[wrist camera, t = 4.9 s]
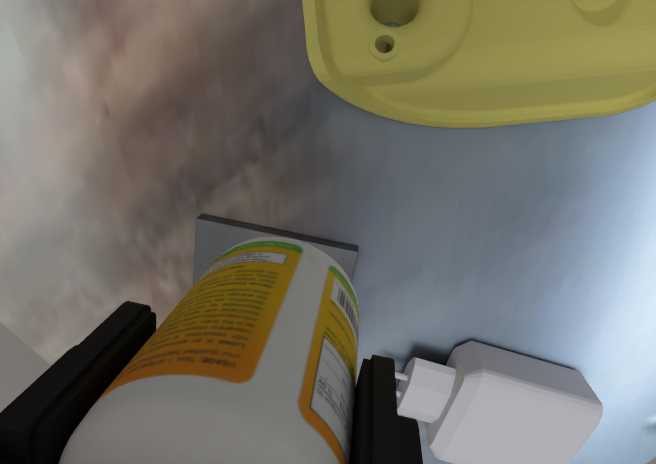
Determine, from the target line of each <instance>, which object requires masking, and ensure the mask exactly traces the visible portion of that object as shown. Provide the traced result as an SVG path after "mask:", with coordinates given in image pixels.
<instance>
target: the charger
mask: <svg viewBox="0 0 656 464" xmlns="http://www.w3.org/2000/svg"><path fill="white" fill-rule="evenodd" d="M395 378H397V379H401V380H400V382H399V384H398V387H397V390H396V396H397V412H398V414H401V415H404V416H408V417H411V418H415V419H418V420H422V421H425V425H426V431H427V438H428V445H429V447H430V448H431V450H432V452H433V454H434V455H435V457H436V459H439V460H442V461H446V462H449V463H453V464H570V463H571V462H572V460H573V459H574V458H575V456H576V455H577V453H578V452H579V451H580V449H581V448H582V447H583V445H584V444H585V443H586V441H587V440H588V438H589V437H590V436H591V434H592V433H593V432H594V430H595V429H596V427H597V425H598V424H599V421H600V419H601V416H602V404H601V402H600V400H599V399H598V397H597V396H596V394H595V393H594V391H593V390H592V389H591V387H590V386H589V384H588V383H587V381H586V380H585V378H584V377H583V376H582V374H581V373H580V372H579V371H576V370H572V369H569V368H565V367H562V366H558V365H555V364H552V363H548V362H545V361H541V360H538V359H534V358H531V357H527V356H524V355H520V354H517V353H513V352H510V351H506V350H503V349H499V348H496V347H492V346H489V345H485V344H482V343H478V342H475V341H469V342H467V343H464V344H462V345H460V346H458V347H456V348H454V350H453V351H452V353H451V355H450V357H449V359H448V361H447V363H446V365H445V366H444V365H440V364H437V363H433V362H430V361H426V360H423V359H419V358H416V357H413V358H412V359H411V360H410V362H409V363H408V364H407V366H406V368H405V370H404V373H400V372H396V371H395Z"/></svg>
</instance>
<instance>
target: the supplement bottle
mask: <svg viewBox="0 0 656 464" xmlns="http://www.w3.org/2000/svg"><path fill="white" fill-rule="evenodd" d="M358 340H359V304H358V299H357V295H356V292H355V290H354V287H353V285H352V283H351V281H350V279H349V277H348V276H347V274H346V273H345V272H344V270H343V269H342V268H341V267H340V266H339V264H338V263H337V262H336V261H335V260H333V259H332V258H331V257H330V256H329V255H327V254H326V253H324V252H323V251H321V250H320V249H318V248H316V247H314V246H312V245H310V244H307V243H305V242H302V241H299V240H295V239H290V238H284V237H259V238H254V239H250V240H247V241H244V242H241V243H239V244H237V245H235V246H233V247H231V248H230V249H228V250H227V251H225V252H224V253H223V254H222V255H221V256H219V257H218V259H217V260H216V261H215V262H214V263H213V264H212V265H211V266H210V267H209V268H208V269H207V270H206V271H205V273H204V274H203V275H202V276H201V277H200V279H199V280H198V281H197V282H196V284H195V285H194V286H193V287H192V288H191V290H190V291H189V292H188V293H187V294H186V295H185V297H184V298H183V299H182V300H181V301H180V303H179V304H178V305H177V306H176V307H175V309H174V310H173V311H172V312H171V313H170V314H169V316H168V317H167V318H166V319H165V321H164V322H163V323H162V324H161V325H160V327H159V328H158V329H157V330H156V331H155V332H154V334H153V335H152V336H151V337H150V338H149V339H148V341H147V342H146V343H145V344H144V345H143V347H142V348H141V349H140V350H139V351H138V353H137V354H136V355H135V356H134V357H133V358H132V360H131V361H130V362H129V363H128V364H127V365H126V367H125V368H124V369H123V370H122V371H121V373H120V374H119V375H118V376H117V377H116V378H115V379H114V381H113V382H112V383H111V384H110V386H109V387H108V388H107V389H106V390H105V391H104V393H103V394H102V395H101V396H100V398H99V399H98V400H97V401H96V402H95V404H94V405H93V406H92V407H91V409H90V410H89V411H88V413H87V414H86V416H85V417H84V418H83V420H82V421H81V422H80V424H79V425H78V426H77V428H76V429H75V431H74V432H73V434H72V435H71V437H70V438H69V440H68V442H67V444H66V446H65V448H64V450H63V453H62V455H61V458H60V461H59V464H350V459H351V444H352V429H353V412H354V399H355V386H356V371H357V352H358Z"/></svg>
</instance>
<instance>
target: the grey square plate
mask: <svg viewBox="0 0 656 464" xmlns="http://www.w3.org/2000/svg"><path fill="white" fill-rule="evenodd" d="M259 237H284V238H290V239H295V240H299V241H302V242H305V243H307V244H310V245H312V246H314V247H316V248H318V249H320V250H321V251H323V252H324V253H326V254H327V255H329V256H330V257H331V258H332V259H333V260H335V261H336V262H337V263H338V264H339V266H340V267H341V268H342V269H343V270H344V272H345V273H346V274H347V276H348V277H349V279H350V281H351V280H352V275H353V271H354V267H355V262H356V258H357V254H358V246H353V245H348V244H343V243H339V242H334V241H329V240H324V239H320V238H315V237H310V236H305V235H300V234H296V233H291V232H286V231H281V230H276V229H272V228H267V227H262V226H257V225H253V224H248V223H243V222H238V221H233V220H229V219H224V218H219V217H214V216H209V215H205V214H201V215H200V216H199V217H197V218H196V234H195V253H194V272H193V286H194V285H195V284H196V282H197V281H198V280H199V279H200V277H201V276H202V275H203V274H204V273H205V271H206V270H207V269H208V268H209V267H210V266H211V265H212V264H213V263H214V262H215V261H216V260H217V259H218V257H219V256H221V255H222V254H223V253H224V252H225V251H227V250H228V249H230V248H231V247H233V246H235V245H237V244H239V243H241V242H244V241H247V240H250V239H254V238H259Z"/></svg>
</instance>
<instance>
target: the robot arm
mask: <svg viewBox="0 0 656 464" xmlns="http://www.w3.org/2000/svg"><path fill="white" fill-rule="evenodd" d="M155 331H156V314H155V313H154V312H151V308H150V306H148V305H144V304H140V303H135V302H130V301H126V302H125V303H123V304H122V305H121V306H120V307H119V308H118V309H117V310H115V311H114V312H113V313H112V314H111V315H110V316H109V317H108V318H107V319H106V320H105V321H104V322H103V323H101V324H100V325H99V326H98V327H97V328H96V329H95V330H94V331H93V332H92V333H91V334H90V335H89V336H87V337H86V338H85V339H84V340H83V341H82V342H81V343H80V344H79V345H76V346H74V347H72V348H71V349H70V350H68V351H67V352H66V353H65V354H64V355H63V356H62V357H61V358H60V359H59V360H57V361H56V362H55V363H54V364H53V365H52V366H51V367H50V368H49V369H48V370H47V371H45V372H44V373H43V374H42V375H41V376H40V377H39V378H38V379H37V380H36V381H35V382H34V383H32V384H31V386H29V387H28V388H27V389H26V390H25V391H24V392H23V393H21V395H19V396H18V397H17V398H16V399H15V400H14V401H13V402H12V403H11V404H9V405H8V406H7V407H6V408H5V409H4V410H3V411H2V412H1V413H0V464H59V461H60V458H61V455H62V453H63V450H64V448H65V446H66V444H67V442H68V440H69V438H70V437H71V435H72V434H73V432H74V431H75V429H76V428H77V426H78V425H79V424H80V422H81V421H82V420H83V418H84V417H85V416H86V414H87V413H88V411H89V410H90V409H91V407H92V406H93V405H94V404H95V402H96V401H97V400H98V399H99V398H100V396H101V395H102V394H103V393H104V391H105V390H106V389H107V388H108V387H109V386H110V384H111V383H112V382H113V381H114V379H115V378H116V377H117V376H118V375H119V374H120V373H121V371H122V370H123V369H124V368H125V367H126V365H127V364H128V363H129V362H130V361H131V360H132V358H133V357H134V356H135V355H136V354H137V353H138V351H139V350H140V349H141V348H142V347H143V345H144V344H145V343H146V342H147V341H148V339H149V338H150V337H151V336H152V335H153V334H154V332H155ZM350 464H423V460H422V452H421V443H420V435H419V427H418V423H417V421H416V419H412V418H407V417H403V416H399V415H398V412H397V396H396V379H395V363H394V359H391V358H386V357H382V356H377V355H372V357H371V360H369V359H363V362H362V366H361V369H360V373H359V377H358V380H357V384H356V388H355V399H354V412H353V429H352V444H351V459H350Z"/></svg>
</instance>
